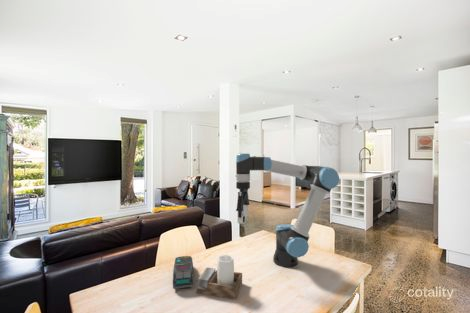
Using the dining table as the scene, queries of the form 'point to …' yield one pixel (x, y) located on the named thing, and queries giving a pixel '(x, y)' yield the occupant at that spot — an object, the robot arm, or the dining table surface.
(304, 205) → the robot arm
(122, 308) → the dining table surface
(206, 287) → the wooden open tray
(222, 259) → the cup
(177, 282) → the toy van
